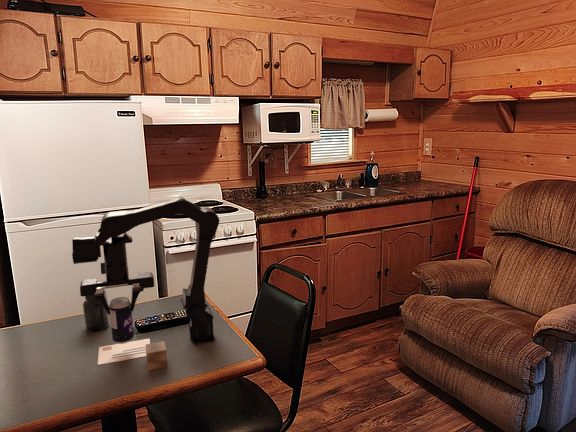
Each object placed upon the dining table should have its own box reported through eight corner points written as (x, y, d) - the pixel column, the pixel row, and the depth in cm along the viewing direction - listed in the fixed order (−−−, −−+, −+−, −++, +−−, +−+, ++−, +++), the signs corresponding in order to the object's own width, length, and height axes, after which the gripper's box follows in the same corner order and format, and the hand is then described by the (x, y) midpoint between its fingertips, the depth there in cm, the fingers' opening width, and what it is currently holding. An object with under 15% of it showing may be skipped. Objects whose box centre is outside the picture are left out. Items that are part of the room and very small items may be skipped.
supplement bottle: (101, 320, 146) (97, 286, 143) (113, 325, 142) (109, 290, 139) (81, 328, 141) (77, 292, 138) (93, 334, 137) (89, 297, 134)
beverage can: (127, 346, 123) (123, 305, 120) (108, 344, 124) (104, 304, 121) (137, 336, 128) (134, 297, 125) (120, 334, 129) (116, 295, 126)
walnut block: (165, 357, 123) (164, 341, 122) (167, 366, 119) (166, 349, 118) (146, 361, 122) (145, 344, 121) (148, 370, 117) (146, 353, 116)
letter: (149, 338, 134) (149, 338, 134) (151, 355, 124) (151, 354, 124) (99, 347, 129) (99, 346, 129) (97, 365, 120) (97, 364, 120)
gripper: (149, 247, 131) (153, 296, 135) (80, 254, 125) (86, 306, 128) (152, 258, 121) (156, 311, 124) (76, 266, 114) (83, 322, 118)
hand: (120, 312), depth 124 cm, fingers closed on beverage can, 6 cm apart
